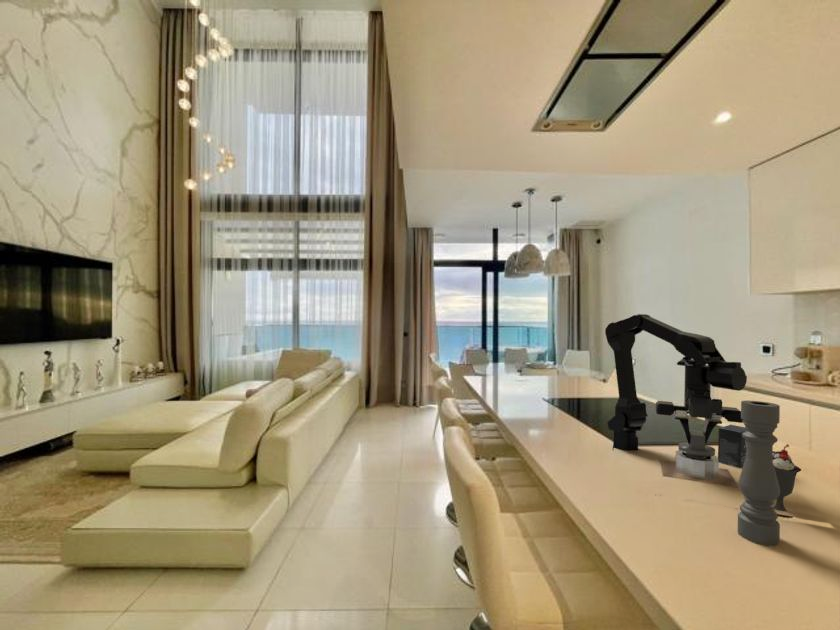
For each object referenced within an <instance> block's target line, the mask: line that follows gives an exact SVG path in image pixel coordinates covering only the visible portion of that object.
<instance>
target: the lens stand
mask: <svg viewBox="0 0 840 630" xmlns="http://www.w3.org/2000/svg"><path fill="white" fill-rule="evenodd" d="M659 465H660V469H661V474H662V477H667V478H673V479H678V480H679V479H680V480H686V481H692V482H699V483H705V484H711V485H717V486H718V485H719V486H722V487H723V486H724V487H731V488H737V489H740V488H739V483H737V481H736V479H735V478H734V477H733V475H732V474H731V472H730V471H729V469H725V468H720V467H719V468H718V478H716V479H699V478H693V477H689V476H686V475H683V474H681V473H679V472H677V471H676V469H675V461H669V460H663V459H662V460H661V459H659Z"/></svg>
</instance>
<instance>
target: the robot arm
mask: <svg viewBox="0 0 840 630" xmlns="http://www.w3.org/2000/svg"><path fill="white" fill-rule="evenodd" d="M643 331H644V332H646V333H648V334H650V335H652V336H655V337H656V338H658V339H660V340H662V341H664V342H666V343H669V344H670V345H672V346H673V347H674V349H675V350H676V351H677V352H678V353H680V354H681V355H682V356H683V357H682V358H681V359H680V360H678V361H677V362H676V365H677V366H684V391H683V392H684V393H683V394H684V400H683V401H684V402H683V404H684V405H676V404H675V405H674V403H673V402H672V401H663V400H657V401H656V402H655V412H656V415H660V416H662V415H663V416H672V415H673V417H674V419H675V420H678V421H680V424H681V427H682V428H683V433H684V436H685V437H686V438H685V439H686V442H688V444H690V432H689V430H690V425H689V418H688V416H687V415H689V416H690V417H691V418H695V419H697V418H701V419H702V418H703V419H704V424H703V431H702V432H703V434H704V435H705V445H707V443H708V440H709V438H710V436H711V433H712V432H713V430H714V429H715V427H716V426H717V425H722V424H723V421H722V418H724V419H725V420H726V421H727V422H729V423H738V424H741V423H742V424H744V423H743V419H742V418H741V409H738V408H737V407H733V406H731V407H730V406H723V401H722V399H720V398H712V397H711V392H712V390H711V389H712V388H711V387H714V388H719V389H724V390H731V391H738V392H740V391H742V390H743V389H744V388H745V387H746V384H747V379H748V378H747V377H748V376H747V374H746V371H745V370H744V368H743V367H742V362H740V361H726V359H725V358H724V356H723V355H722V354H721V352H720V351H719V350H718V348H717V346H716V343H715V340H714V339H713V338H711V336H710V337H709V336H707V335H703V334H697V333H694V332H693V333H692V332H687V331H683V330H681V329H678V328H676V327H675V326H672V325H669V324H667V323H665V322H663V321H661V320H658V319H657V318H654V317H652V316H651V315H649V314H644V313H643V314H642V313H641V314H640V313H636V314H634V315H632V316H629V317H627V318H624V319H621V320H618V321H616V322H610V323H609V324H607V326H606V327H605V331H604V332H605V337H606V340H607V344H608V346H610V348H611V349H612V351H613V354H614V355H613V356H614V364H615V372H616V380H617V381H616V383H617V389H618V398H617V402H616V404H615V406H614V416H613V417H612V418H611V419H609V420H608V421H607V427H608V430H610V431H613V435H612V436H613V441H612V442H613V445H612V450H614V449H618V450H622V451H626V452H628V451H629V452H630V451H631V452H632V451H637V452H638V451H639V436H638V435H637V431H639V432H640V431H642V428H643V426H644V424H645V423H646V421H647V417H649V416H648V413H647V404H646V403H645V402H641V401H640V400H639V398H638V394H637V388H636V382H635V381H636V380H635V371H634V362H633V354H632V349H633V347H634V345H635V342H636V336H637V335H638V334H640V333H642V332H643Z"/></svg>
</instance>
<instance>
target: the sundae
mask: <svg viewBox="0 0 840 630" xmlns="http://www.w3.org/2000/svg"><path fill="white" fill-rule="evenodd" d="M786 448H790V445H789V444H788V443H786V445H785V446H784V447H783V449H781V450H780V451H779V450H778V451H775V450H773V458H772V461H773V465H774V469H775V473H776V476H777V480H778V484H779V487H780V494H779V497H778V498H777V499H776V500H775V503H774V505H773V506H772V507H773V509H774V510H775V511H779V512H787V511H788V510H787V509H786V507H785V504H784V499H785V497H788V496H790V495H791V494H792V493H793V490H794V488H795V487H794V486H795V482H796V477H797V474H798V473H800V472H801V471H802V468H800V467H799V466H797V465H796V464H795V463H794V462H793V460H792V458H791V456H790V454H789V451H788V450H786ZM777 515H778V517H780V518H786V519H792V518H794V516H791V515H786V514H780V513H777Z"/></svg>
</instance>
